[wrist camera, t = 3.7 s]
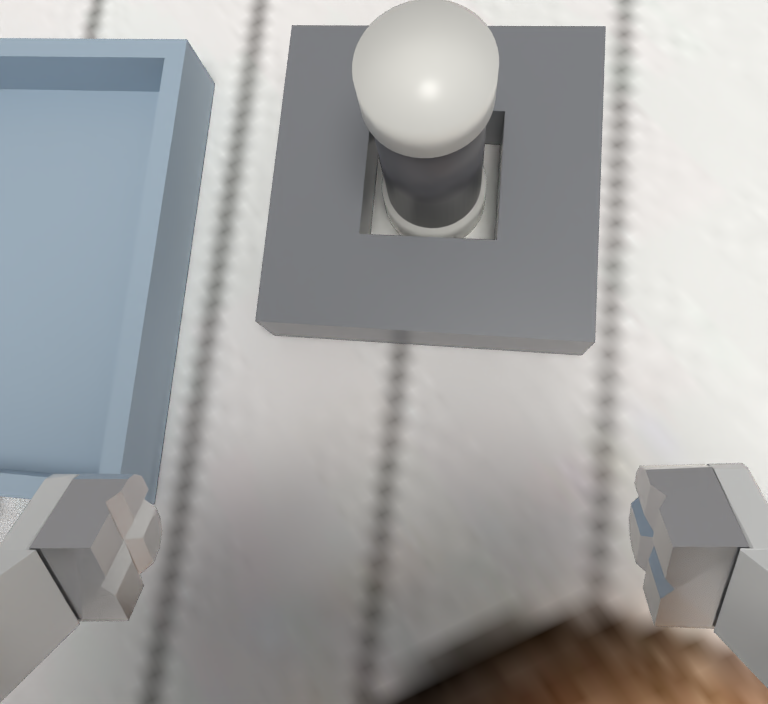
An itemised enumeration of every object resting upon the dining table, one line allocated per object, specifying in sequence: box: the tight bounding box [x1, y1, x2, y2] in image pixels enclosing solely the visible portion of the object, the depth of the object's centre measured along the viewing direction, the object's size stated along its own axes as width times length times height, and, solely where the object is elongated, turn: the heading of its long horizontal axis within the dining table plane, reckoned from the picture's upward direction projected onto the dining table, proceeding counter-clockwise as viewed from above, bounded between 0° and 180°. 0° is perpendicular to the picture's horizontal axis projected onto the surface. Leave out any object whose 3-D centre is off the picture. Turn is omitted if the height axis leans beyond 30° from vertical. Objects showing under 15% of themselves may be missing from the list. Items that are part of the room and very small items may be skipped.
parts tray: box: [0, 38, 215, 504], centre depth 27 cm, size 18×14×3 cm
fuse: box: [352, 0, 499, 238], centre depth 22 cm, size 4×4×9 cm
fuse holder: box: [255, 25, 606, 355], centre depth 26 cm, size 12×12×2 cm
